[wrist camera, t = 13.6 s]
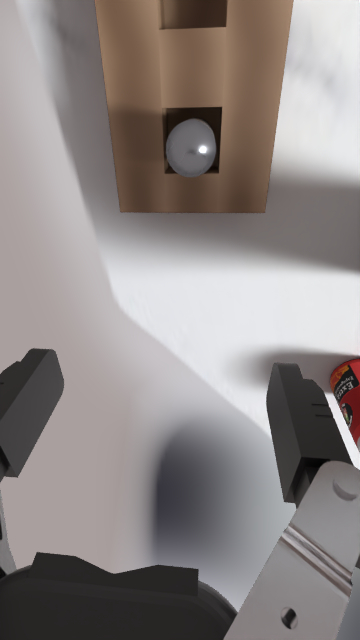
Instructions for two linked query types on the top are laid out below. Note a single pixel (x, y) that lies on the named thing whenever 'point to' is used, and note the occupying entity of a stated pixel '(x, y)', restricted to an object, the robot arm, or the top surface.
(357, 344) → the top surface
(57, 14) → the top surface
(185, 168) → the pin
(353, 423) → the canned food
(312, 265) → the top surface
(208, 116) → the hole block
